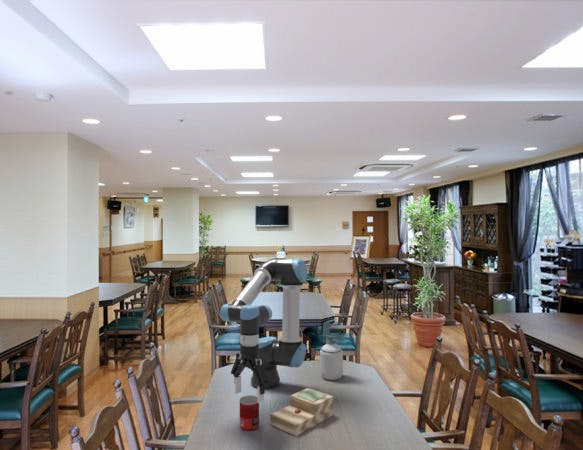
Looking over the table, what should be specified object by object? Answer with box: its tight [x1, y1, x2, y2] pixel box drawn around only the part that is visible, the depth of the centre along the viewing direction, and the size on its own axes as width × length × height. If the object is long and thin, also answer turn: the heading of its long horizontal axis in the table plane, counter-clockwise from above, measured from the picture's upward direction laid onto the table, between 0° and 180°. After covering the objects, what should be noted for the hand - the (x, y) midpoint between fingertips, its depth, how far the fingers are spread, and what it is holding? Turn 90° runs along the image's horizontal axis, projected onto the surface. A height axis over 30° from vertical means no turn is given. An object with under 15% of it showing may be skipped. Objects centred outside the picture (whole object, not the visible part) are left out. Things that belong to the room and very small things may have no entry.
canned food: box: [239, 395, 260, 432], centre depth 162 cm, size 8×8×11 cm
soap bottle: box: [319, 319, 344, 381], centre depth 217 cm, size 12×12×31 cm
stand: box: [269, 387, 334, 437], centre depth 168 cm, size 24×14×8 cm, turn 138°
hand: (249, 397), depth 162 cm, fingers open, 13 cm apart
